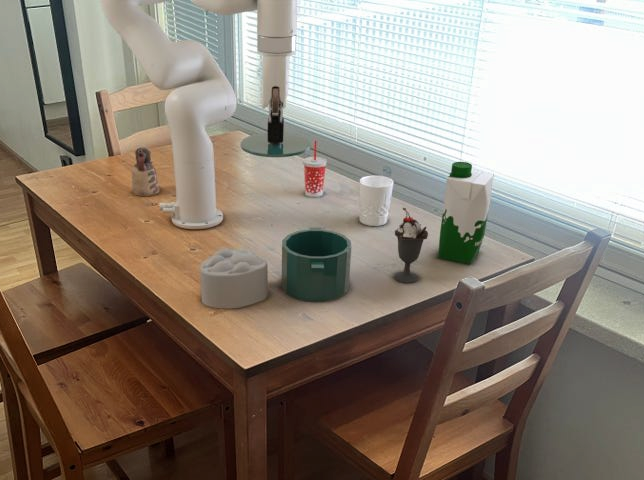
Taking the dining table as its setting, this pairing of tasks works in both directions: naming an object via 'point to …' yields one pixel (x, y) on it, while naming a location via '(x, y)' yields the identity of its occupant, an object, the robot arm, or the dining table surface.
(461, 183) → the milk carton
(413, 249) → the sundae
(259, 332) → the dining table surface
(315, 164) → the beverage cup
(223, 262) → the lumpy-topped squat cylinder
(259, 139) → the lid
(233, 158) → the dining table surface
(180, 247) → the dining table surface
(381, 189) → the white cup
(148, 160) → the figurine
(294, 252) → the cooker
